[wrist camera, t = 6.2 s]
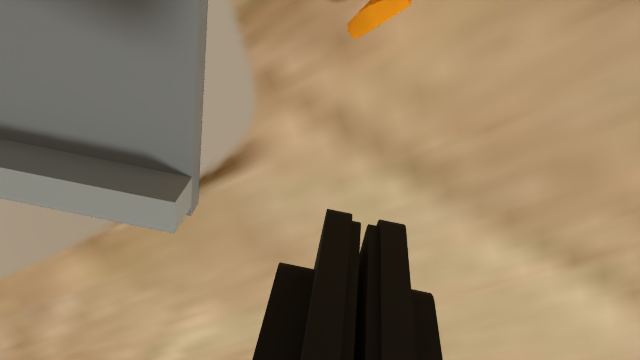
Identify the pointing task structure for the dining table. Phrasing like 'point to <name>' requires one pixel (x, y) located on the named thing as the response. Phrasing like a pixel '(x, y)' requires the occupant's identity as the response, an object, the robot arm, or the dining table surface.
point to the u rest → (103, 107)
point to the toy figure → (375, 15)
